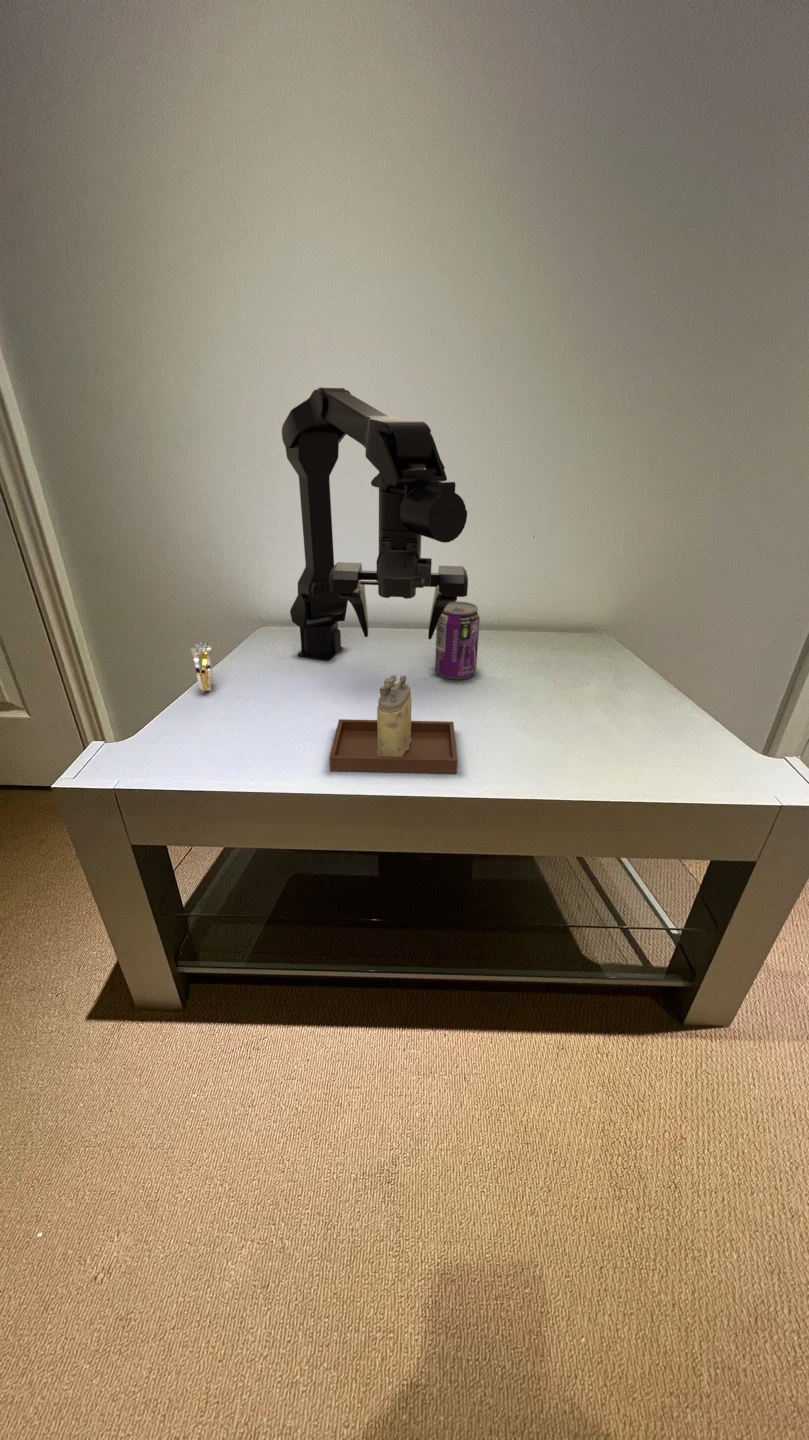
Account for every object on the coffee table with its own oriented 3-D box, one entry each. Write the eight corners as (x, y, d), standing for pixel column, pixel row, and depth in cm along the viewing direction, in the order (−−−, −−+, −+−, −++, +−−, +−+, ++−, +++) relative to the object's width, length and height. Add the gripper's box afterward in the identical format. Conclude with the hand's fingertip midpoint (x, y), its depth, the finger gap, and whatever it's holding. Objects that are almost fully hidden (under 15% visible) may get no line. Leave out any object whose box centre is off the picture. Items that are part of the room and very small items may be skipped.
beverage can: (473, 683, 100) (478, 615, 94) (431, 680, 101) (434, 612, 95) (477, 667, 106) (482, 602, 100) (438, 663, 107) (440, 599, 101)
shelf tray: (330, 771, 76) (329, 757, 75) (339, 732, 85) (338, 719, 84) (456, 774, 76) (457, 760, 75) (452, 734, 85) (453, 721, 84)
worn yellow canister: (390, 733, 83) (390, 667, 79) (416, 737, 83) (418, 671, 78) (373, 758, 78) (372, 690, 73) (401, 763, 77) (401, 694, 72)
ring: (213, 699, 93) (205, 652, 90) (192, 699, 93) (184, 652, 89) (221, 680, 100) (215, 635, 96) (202, 681, 99) (194, 636, 95)
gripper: (320, 538, 72) (325, 657, 79) (474, 543, 71) (465, 662, 79) (333, 520, 81) (337, 627, 89) (469, 524, 81) (461, 631, 89)
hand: (398, 637), depth 86 cm, fingers open, 9 cm apart
